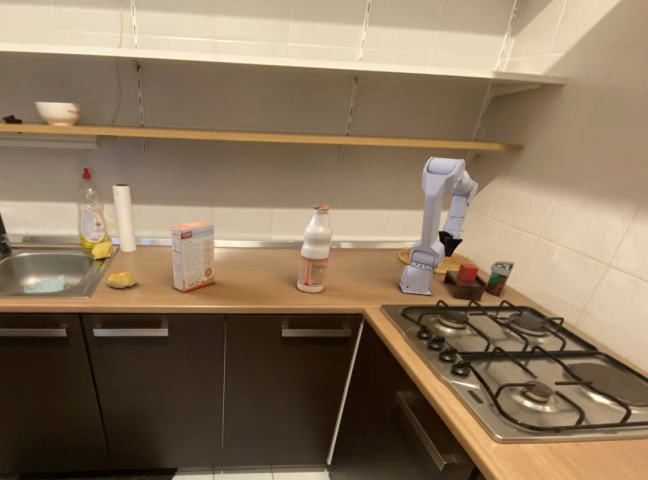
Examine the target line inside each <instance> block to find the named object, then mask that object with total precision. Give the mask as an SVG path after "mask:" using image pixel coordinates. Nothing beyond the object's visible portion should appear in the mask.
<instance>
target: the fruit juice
mask: <svg viewBox="0 0 648 480" xmlns="http://www.w3.org/2000/svg"><path fill="white" fill-rule="evenodd" d="M329 212H330V206H329V205H327V204H314V205H313V214H312V217H311V219H310V220H309V223H308V224H307V226H306V227H305V228H304V232H303V240H304V241H303V244H302V246H301V251H300V259H299V264H298V265H299V266H298V274H297V282H296V288H297V289H298V290H300V291H302V292H304V293H310V294H311V293H313V294H315V293H320V292H322V291H323V290H324V288H325V282H326V278H327V277H326V276H327V269H328V264H329V257H330V250H331V248H330V242H331V240H332V237H333V231H332V229H331V226H330V220H329Z"/></svg>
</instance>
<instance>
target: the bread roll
mask: <svg viewBox="0 0 648 480" xmlns="http://www.w3.org/2000/svg"><path fill="white" fill-rule="evenodd" d="M107 284H108V286H109V287H111V288H114V289H125V288H126V287H127V288H130V287H133V286H134V285H135V284H136V281H135V276H134V275H133V274H132V273H131V272H128V271H122V272H120V273H112V274H110V275H109V277H108V278H107Z"/></svg>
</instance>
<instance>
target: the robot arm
mask: <svg viewBox="0 0 648 480" xmlns="http://www.w3.org/2000/svg"><path fill="white" fill-rule="evenodd" d="M465 169H466V162H465V159H463V158H459V159H458V158H457V159H456V158H445V157H436V156H431V157H430V158H429V159H427V161H426V163H425V164H424V167H423V170H422V176H421V189H422V190H423V192H424V202H423V203H424V204H423V215H422V226H421V237H420V239H419V238H418V240H416V241H415V242H414V243H413V245H412V246H411V249H410V253H409V256H408V257H409V258H408V259H409V262H410V263H411V264H406V265H405V266H404V268H403V271H402V275H401V279H400V281H399V287H400V289H401V291H402V293H405V294H416V295H424V296H431V295H432V293H431V291H430V289H429V288H430V287H431V283H432V279H433V277H434V274H435V270H436V269H439V268H440V267H441V266H442V264H443V263H444V261H445V258H451V257H452V255H453V254H454V252H455V250H456V249H457V248H458V246H460V244H461V243H463V241H464V240H463V238H461V236H462V233H465V229H464V228H463V225H464V222H465V219H466V217H467V214H468V210H469V208H470V205H471V204H472V202H473V200H474V197H476V193H477V191H478V188H479V183H478V182H477V181H476V180H472V178H471V177H470V175H469V173H468V171H467V170H465ZM448 194H451V197H452V200H451V203H450V206H449V209H448V212H447V216H446V219H445V222H444V224H443V226H442V230H440V225H441V217H442V207H443V201H444V197H445V196H446V195H448Z"/></svg>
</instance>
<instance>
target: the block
mask: <svg viewBox="0 0 648 480" xmlns="http://www.w3.org/2000/svg"><path fill="white" fill-rule="evenodd" d="M479 269H480V268H479V267H478V266H477V265H476V264H471V263H460V265H459V267H458V270H457V271H458V274H457V276H458V277H459V278H460V279H461V280H471V281H474V280H475V278H476V275H477V274H478V272H479Z"/></svg>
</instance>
